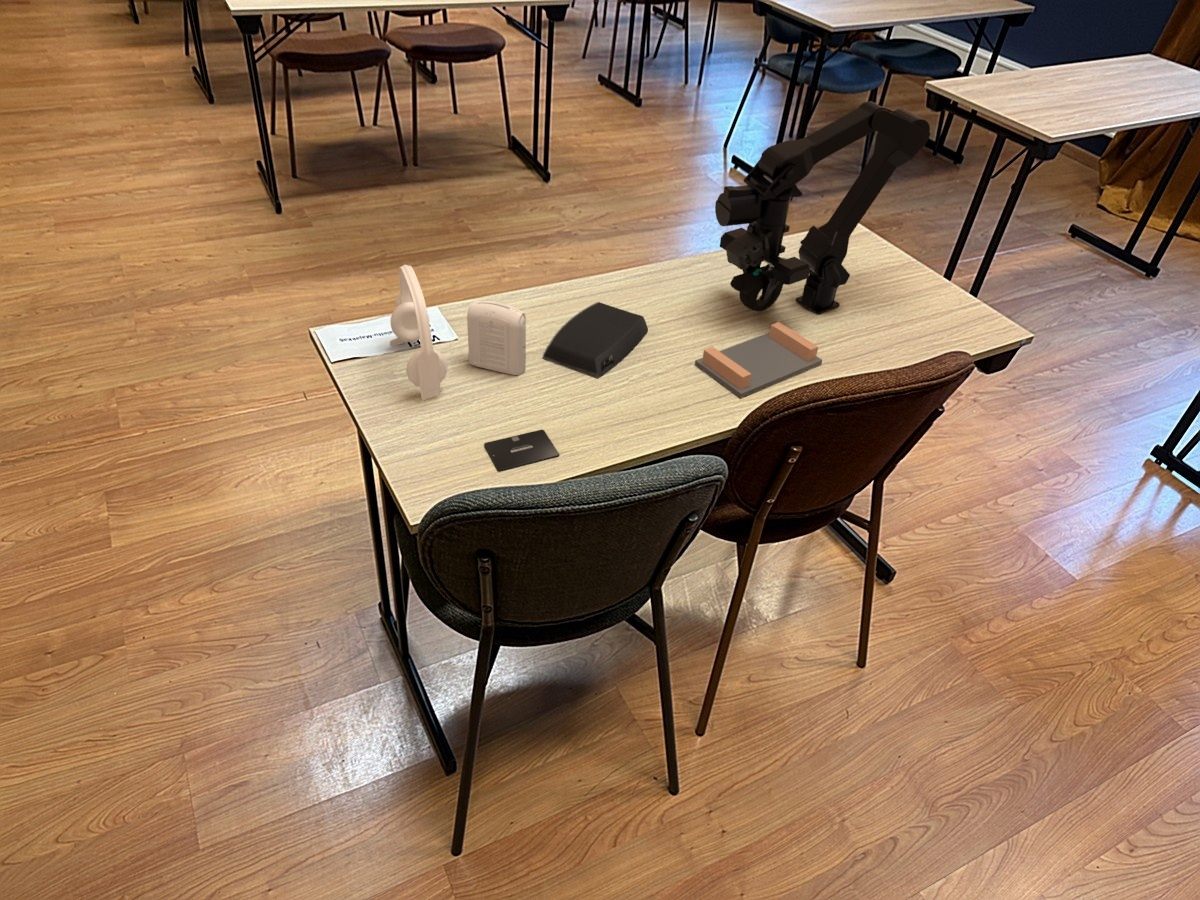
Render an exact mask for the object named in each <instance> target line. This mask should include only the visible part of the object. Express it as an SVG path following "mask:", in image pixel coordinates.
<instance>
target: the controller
mask: <svg viewBox="0 0 1200 900" xmlns="http://www.w3.org/2000/svg"><path fill="white" fill-rule="evenodd" d="M769 267H770V265H769V264H767V263H766V265H763V266H760V267H759V268H758V269H756V270H753V271H750V272H747V273H743V272H742V273H740V274H737V275H734V276H733V277H732V279H731V281H730V283H729V284H730V287H731V288H732V289H734V290H736V291H737V292H738V293H739V294H738V295H739V300H740V302H741V303H742V305H743V306H744V307H745V308H746V309H749V310H750V311H754V312H763V311H766V310H768V309H769V308H770V307H772V306H773V305H774V304H775V302H777V300H778V299H779V297H780V296H781V293H782V290H783V287H784V285H785V284H783V283H781V282H779V284H778V285H777V286H776V288H775V289H774V290H773V292H772V293H771V294H770V296H769V297H768V298H767V300H765V301H762V300H761V295H760V296H759V294H760V292H762V288H763V282H764V277H763V276H762V274H761V272H763V271H766V270H768V269H769ZM758 297H759V298H758Z"/></svg>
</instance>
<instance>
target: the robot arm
mask: <svg viewBox="0 0 1200 900" xmlns="http://www.w3.org/2000/svg"><path fill="white" fill-rule="evenodd" d="M930 128H931V126H930V123H929V122H928V121H927V120H926V119H924V118H923V117H920V116H918V115H917V114H915V113H912V112H911V111H909V110H908V109H904V108H898V109H897V108H896V109H895V110H892V109H889V108H888V107H884V106H882V105H879V103H878V104H877V103H876V102H874V101H870V100H869V101H864V102H863V103H861V104H860V105H858V107H857V108H856V109H854V110H851V112H849V113H846V114H845V115H843V116H841V117H839V118H838V119H836V120H834V121H832V122H831V123H829V124H827V125H825V126H823V127H822V128H820V129H818V130H816V131H814V132H812V133H810V134H809V135H807V136H804V137H803V138H800V139H793V140H792V139H791V140H785V141H782V142H779V143H776V144H773V145H771V146H769V147H767V148H765V150H764V151H762V153H761V156H760V158H759V160H758V161H757V162H756V164H755V165H754V166H753V167H752V168H751V170H750V171H749V173H748V174H747V175H746V176H745V177H744V179H743V182H744V184H745V185H737V186H734V185H728V186H724V188H723V192H721V193H720V194H719V195H718V197H717V199H716V201H715V205H714V206H715V207H714V209H715V210H714V212H715V218H716V220H717V222H718V224H719V226H720V227H729V226H739V225H747V224H748V225H747V227H746V229H745V228H743V227H740V228H735V229H732V230H728V231H725V232H724V233H723V234H722V235H721V237H720V242H719V248H721V249H723V250H725V251H726V259H727V262H728V264H731V265H733V266H735V267H737V268H738V270H741V271H742V274H743V273H747V272H750V271H753V270H756V269H758V268H759V267H762V263H763V262H764V263H766V265H767V264H769V265H770V267H769V269H768V270H766V271H763V272H761V274H762V276H763V277H764V282H763V288H762V290H761V295H760V296H761V300H762V301H765V300H767V298H768V297H769V296H770V294H771V293H772V292H773V290H774V289H775V288H776V286H777V285H778V284H779V282H781V283H783V284H784V285H787V286H789V285H790V286H791V285H793V284H795V283H798V282H801V281H804V280H805V284H804V286H803V291H802V293H801V294H802V295H801V296H798V297H796V298H795V302H796V303H799V304H800V305H802V306H803V307H805V308H806V309H808V310H810V311H812V312H813V313H816V314H817V315H820V314H822V313H825V312H828V311H830V310H833V309H836V308H839V307H840V305H841V304H840V303H839V302H838V301H836V300H835V299H836V295H837V291H838V288H839V287H840V286H844V285H846V284H847V282H848V280H849V279H850V276H851V273H849V271H848V270H847V269H846V268H845V267H844V265H843V263H844V261H845V259H846V256H847V254H848V249H849V248H848V247H849V244H850V243H849V242H850V238H851V235H852V234H853V232H854V231H855V229H856V228H857V226H858V225H859V224H860V222H861V220H862V219H863V218H864V217H865V215H866V213H867V211H869V209H870V207H871V206H872V204H873V203H874V201H875V200H876V199H877V197H878V196H879V194H880V193H881V191H882V190H883V188H884V187H885V186H886V185H887V183H888V181H889V180H890V179H891V177H892V176H893V174H894V172H895V171H896V170H897V169H898V168H899V167H901V166H903V165H904V164H907V162H910V161H911V160H912V159H914V158H915V156H917V154H918V153H919V152H920V151H921V150H922V149H923V148H924V147H925V145H926V144H927V142H928V140H929V138H930V136H931V132H930V131H931V129H930ZM875 132H877V133H876V136H875V143H874V148H873V153H872V155H871V157H870V158H869V160H867V163H866V165H865V166H864V167H863V168H862V170H861V172H860V173H859V175H858V176H857V178H856V180H854V182H853V184H852V185H851V187H850V189H849V190H848V191H847V193H846V195H845V196H844V197H843V199H842V200H841V202H840V203H839V205H837V208H836V209H835V211H834V212H833V214H832V215H831V217H830V218H829V220H828V221H827V222H826V223H825V224H823V225H821V226H819V227H816V226H815V225H812V226H811V227H810V228H809V229H808V231H807V233H806V235H805V236H804V237H803V239H802V240H800V242H799V243H800V247H799V248H798V257H796V256H792V257H789V258H785V257H781V256H780V254H783V253H785V252H786V248H787V247H786V246H784V245H783V239H784V234H785V233H789V232H790V228H791V227H790V225H788V224H787V218H788V214H789V208H790V203H791V199H792V198H799V197H802V196H803V194H804V193H803V192H802V191H801V190H800V189H799V188H798V186H797V184H799V182H801V181H802V180H804V179H805V178H806V177H808V175H809V174H810V173H811V170H812V169H813V168H814V166H816V164H819V162H822V161H823V160H825V159H826V158H828V157H830V156H832V155H834V154H835V153H838V152H839V151H841V150H843V149H846V148H847V147H848V146H850V145H852V144H854V143H855V142H857V141H860V140H862V139H863V138H865V137H867V136H868V135H870V134H872V133H875ZM763 177H764V178H765V179H766V180H767V181H768V182H770V185H768V184H767V183H765V182H764V181H763V180H762V178H763Z"/></svg>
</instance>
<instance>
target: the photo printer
mask: <svg viewBox="0 0 1200 900" xmlns="http://www.w3.org/2000/svg"><path fill="white" fill-rule="evenodd" d="M526 319H527V317H526V314H525V312H524V311H522V310H520V309H518V308H516V307H514V306H511V305H509V304H506V303H503V302H499V301H494V300H493V301H492V300H477V301H472V302H471V303H470V304H469V305H468V309H467V313H466V322H467V325H466V326H467V344H468V345H467V347H468V363H469V364H470V365H472V366H474V367H477V368H482V369H487V370H490V371H495V372H499V373H503V374H507V375H513V376H520V375H522V374H523V373H525V371H526V362H527V361H526V359H527V358H526V357H527V356H526V355H527V344H526V343H527V342H526V341H527V334H526V333H527V331H526V330H527V326H526V325H527V322H526V321H527V320H526Z"/></svg>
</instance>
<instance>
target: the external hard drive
mask: <svg viewBox="0 0 1200 900" xmlns="http://www.w3.org/2000/svg"><path fill="white" fill-rule="evenodd" d="M648 332H649V327H648V325H647V321H646V320H645V317H644V316H643V315H640V314H636V313H633V312H631V311H627V310H624V309H621V308H618V307H615V306H612V305H609V304H606V303H603V302H600V301H596V302H595V303H593V304H590V305H589V306H587V307H586V308H583V309H581V311H579V312H578V313H577V314H575V315H574V316H572V317H571V318H570V319H569V320H567V322H566V323H564V324H563V325H562V327H561V328H560V329H558V330H557V332H556V333H555V334H554V336H553V337H552V338H551V340H550V342H549V343H548V344H547V347H546V349H545V350H544V351H543V355H542V356H541V359H542V360H544V361H548V362H550V363H553V364H556V365H559V366H562V367H565V368H567V369H570V370H573V371H576V372H579V373H581V374H583V375H587V376H589V377H591V378H595V379H599V378H602V377H603V376H604V375H606V374H607V373H609V371H611V370H612V369H614V368H615V367H616V366H617V365H619V363H621V362H622V361H623V360H624V359H625V358H627V356H628V355H629V354H630V353H632V352H633V350H634V349H635V348H636V347H637V346H638V345H639V344H640V343H641V341H642V340H643V339H644V337H645V336H646V334H647V333H648Z"/></svg>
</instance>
